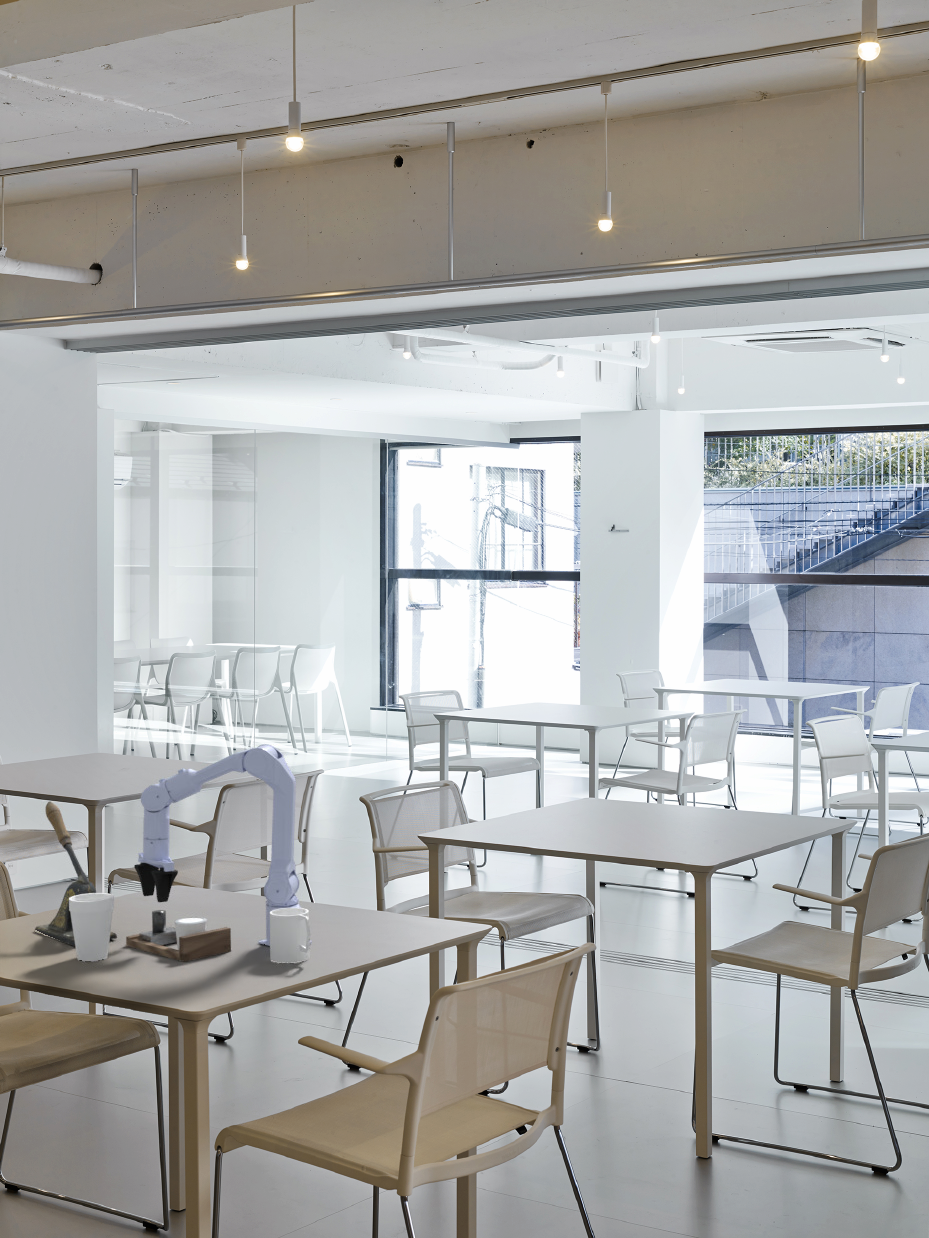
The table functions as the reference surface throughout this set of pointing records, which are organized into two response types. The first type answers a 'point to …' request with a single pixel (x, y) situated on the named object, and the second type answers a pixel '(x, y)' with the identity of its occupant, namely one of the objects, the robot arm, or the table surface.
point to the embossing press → (62, 921)
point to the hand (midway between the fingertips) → (155, 898)
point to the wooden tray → (188, 945)
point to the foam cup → (91, 924)
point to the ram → (159, 930)
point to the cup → (289, 935)
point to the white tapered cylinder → (189, 926)
